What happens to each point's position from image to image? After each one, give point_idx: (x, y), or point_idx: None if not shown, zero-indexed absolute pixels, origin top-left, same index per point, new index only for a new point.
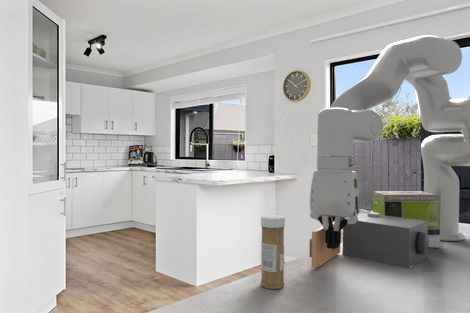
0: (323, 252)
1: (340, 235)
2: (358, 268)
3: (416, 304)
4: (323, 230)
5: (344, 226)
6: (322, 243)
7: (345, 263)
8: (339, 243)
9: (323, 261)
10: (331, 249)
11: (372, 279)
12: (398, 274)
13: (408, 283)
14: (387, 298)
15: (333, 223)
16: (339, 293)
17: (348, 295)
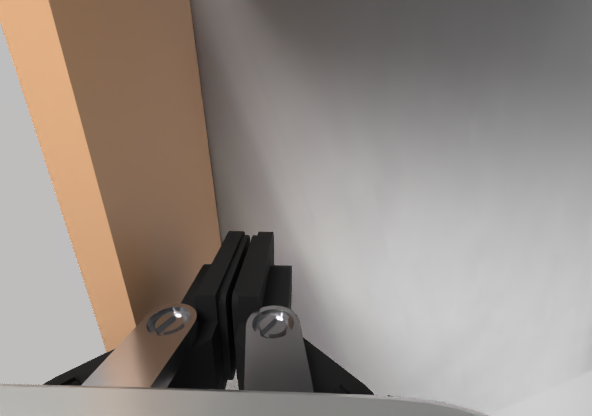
0: (200, 230)
1: (289, 304)
2: (357, 144)
3: (568, 361)
4: (144, 313)
5: (323, 363)
6: (184, 272)
7: (282, 105)
8: (291, 285)
9: (213, 210)
10: (185, 103)
11: (434, 245)
12: (535, 118)
13: (566, 210)
14: (492, 363)
15: (37, 4)
16: None
17: (392, 394)
